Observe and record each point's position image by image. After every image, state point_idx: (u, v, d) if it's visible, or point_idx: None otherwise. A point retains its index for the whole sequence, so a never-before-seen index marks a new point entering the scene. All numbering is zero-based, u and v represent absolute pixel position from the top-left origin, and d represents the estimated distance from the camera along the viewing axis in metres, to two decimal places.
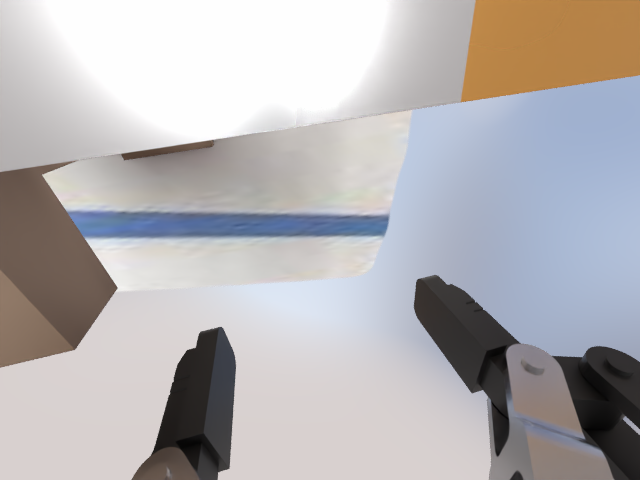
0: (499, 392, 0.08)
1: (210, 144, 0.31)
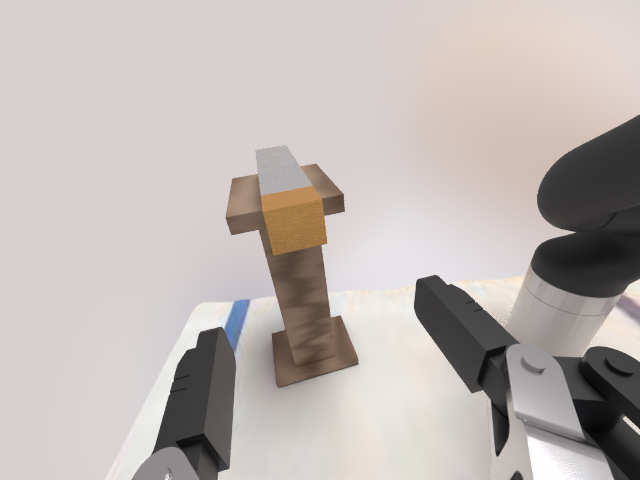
0: (499, 392, 0.08)
1: (277, 381, 0.42)
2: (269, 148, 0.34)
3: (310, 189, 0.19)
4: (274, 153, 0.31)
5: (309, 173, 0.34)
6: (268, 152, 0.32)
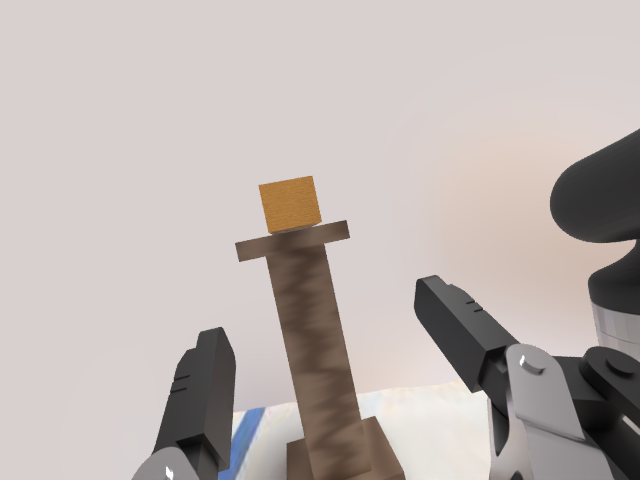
0: (499, 392, 0.08)
1: None
2: None
3: None
4: None
5: None
6: None
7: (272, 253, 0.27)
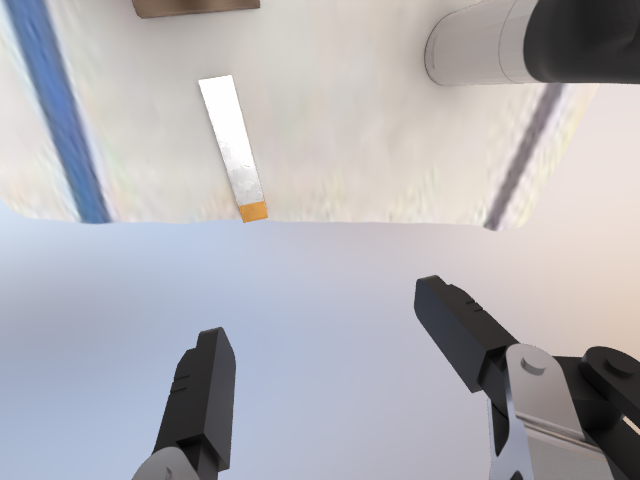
0: (499, 392, 0.08)
1: (139, 13, 0.30)
2: (214, 81, 0.33)
3: (262, 205, 0.42)
4: (225, 110, 0.34)
5: None
6: (217, 102, 0.34)
7: None
